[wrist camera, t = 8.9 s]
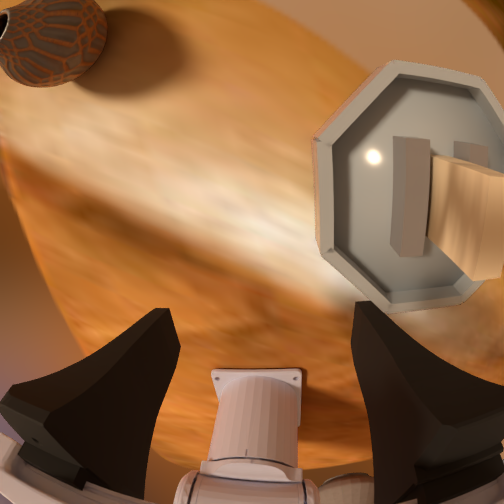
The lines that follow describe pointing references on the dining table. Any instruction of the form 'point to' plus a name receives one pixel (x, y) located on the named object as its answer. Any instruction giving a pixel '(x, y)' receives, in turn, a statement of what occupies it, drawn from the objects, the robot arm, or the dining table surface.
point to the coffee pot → (348, 489)
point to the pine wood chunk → (467, 215)
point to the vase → (51, 40)
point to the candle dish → (370, 178)
